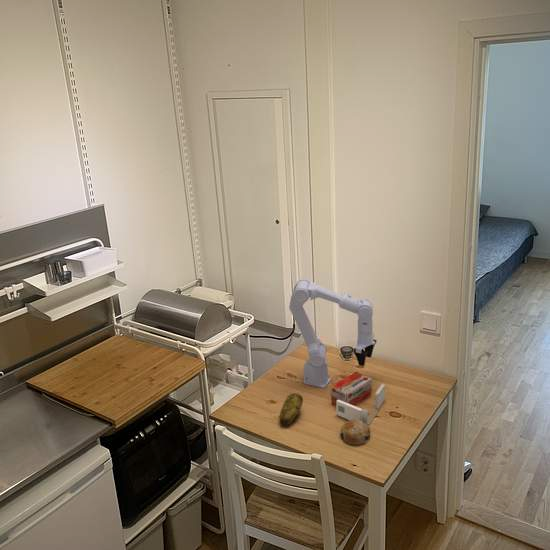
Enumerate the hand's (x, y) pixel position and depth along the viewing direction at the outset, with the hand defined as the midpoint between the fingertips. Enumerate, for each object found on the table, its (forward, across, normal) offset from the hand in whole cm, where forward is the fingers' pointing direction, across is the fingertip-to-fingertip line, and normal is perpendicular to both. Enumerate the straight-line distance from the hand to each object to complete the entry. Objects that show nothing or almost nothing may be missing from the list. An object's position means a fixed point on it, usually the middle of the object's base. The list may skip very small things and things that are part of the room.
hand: (365, 361), depth 232 cm
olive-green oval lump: (+11, -34, +16) cm, 39 cm away
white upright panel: (+10, -18, -10) cm, 23 cm away
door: (+10, -26, -4) cm, 28 cm away
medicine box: (+11, -13, 0) cm, 17 cm away
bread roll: (+11, -34, -10) cm, 37 cm away
